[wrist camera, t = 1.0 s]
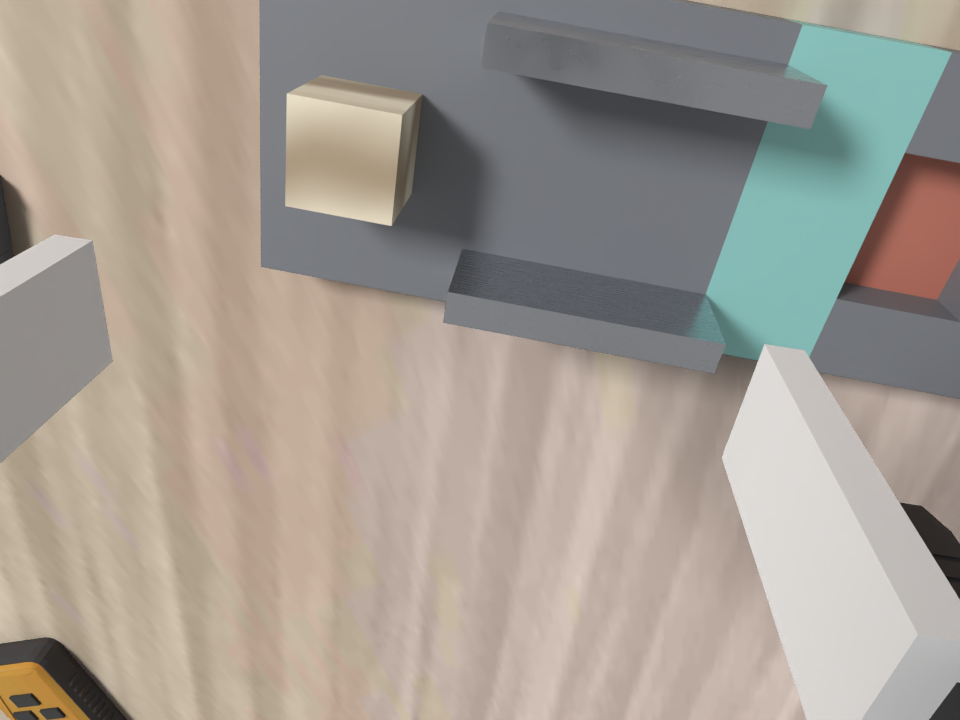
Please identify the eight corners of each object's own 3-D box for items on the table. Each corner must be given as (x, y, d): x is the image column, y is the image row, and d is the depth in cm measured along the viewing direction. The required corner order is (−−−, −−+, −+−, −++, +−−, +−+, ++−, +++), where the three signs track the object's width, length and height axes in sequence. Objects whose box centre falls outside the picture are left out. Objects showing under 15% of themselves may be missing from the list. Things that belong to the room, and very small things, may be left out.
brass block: (321, 75, 31) (286, 93, 27) (422, 93, 31) (402, 115, 27) (317, 175, 33) (284, 206, 29) (411, 193, 33) (391, 225, 29)
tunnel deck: (284, -74, 31) (204, -81, 24) (1102, 77, 30) (1259, 115, 23) (281, 245, 38) (219, 310, 31) (932, 368, 38) (1014, 460, 31)
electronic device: (60, 628, 59) (35, 663, 56) (154, 740, 66) (136, 776, 63) (-19, 640, 61) (-48, 674, 58) (81, 748, 68) (59, 783, 65)
